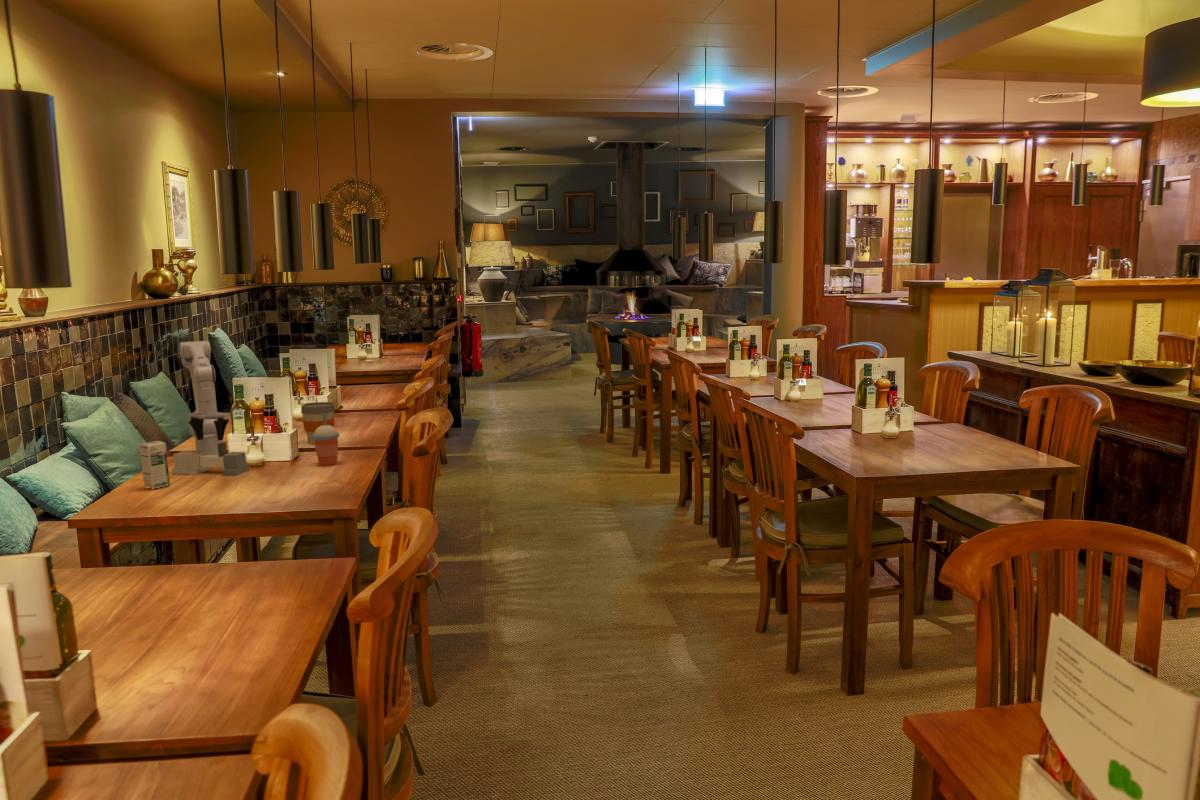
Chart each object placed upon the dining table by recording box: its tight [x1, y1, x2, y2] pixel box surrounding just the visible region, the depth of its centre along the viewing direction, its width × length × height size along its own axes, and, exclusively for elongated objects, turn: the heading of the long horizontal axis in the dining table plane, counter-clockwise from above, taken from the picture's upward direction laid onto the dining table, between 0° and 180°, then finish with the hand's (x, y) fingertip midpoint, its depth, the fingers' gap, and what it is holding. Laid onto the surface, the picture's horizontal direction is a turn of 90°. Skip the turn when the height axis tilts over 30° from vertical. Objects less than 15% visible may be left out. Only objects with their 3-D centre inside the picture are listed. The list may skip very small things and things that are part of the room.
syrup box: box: [139, 440, 171, 489], centre depth 280 cm, size 6×6×14 cm
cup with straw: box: [312, 413, 340, 467], centre depth 307 cm, size 9×9×18 cm
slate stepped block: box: [221, 451, 250, 477], centre depth 297 cm, size 5×8×7 cm, turn 170°
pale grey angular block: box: [199, 441, 228, 468], centre depth 298 cm, size 14×4×8 cm, turn 80°
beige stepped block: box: [171, 450, 212, 476], centre depth 300 cm, size 9×8×7 cm
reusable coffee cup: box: [300, 401, 336, 445], centre depth 344 cm, size 13×13×15 cm
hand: (210, 439), depth 302 cm, fingers open, 7 cm apart
